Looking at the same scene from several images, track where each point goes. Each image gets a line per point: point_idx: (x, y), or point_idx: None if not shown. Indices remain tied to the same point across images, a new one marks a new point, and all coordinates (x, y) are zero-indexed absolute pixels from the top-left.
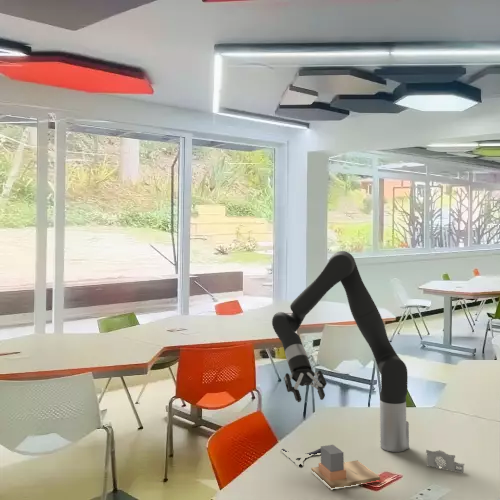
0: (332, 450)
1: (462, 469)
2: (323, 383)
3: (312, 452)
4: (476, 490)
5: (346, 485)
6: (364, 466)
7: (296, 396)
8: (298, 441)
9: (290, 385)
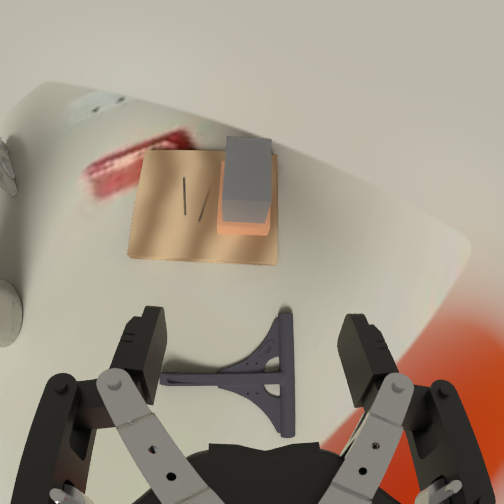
0: (251, 159)
1: (3, 143)
2: (74, 391)
3: (212, 380)
4: (47, 94)
5: None
6: (136, 211)
7: (382, 338)
8: None
9: (446, 403)
